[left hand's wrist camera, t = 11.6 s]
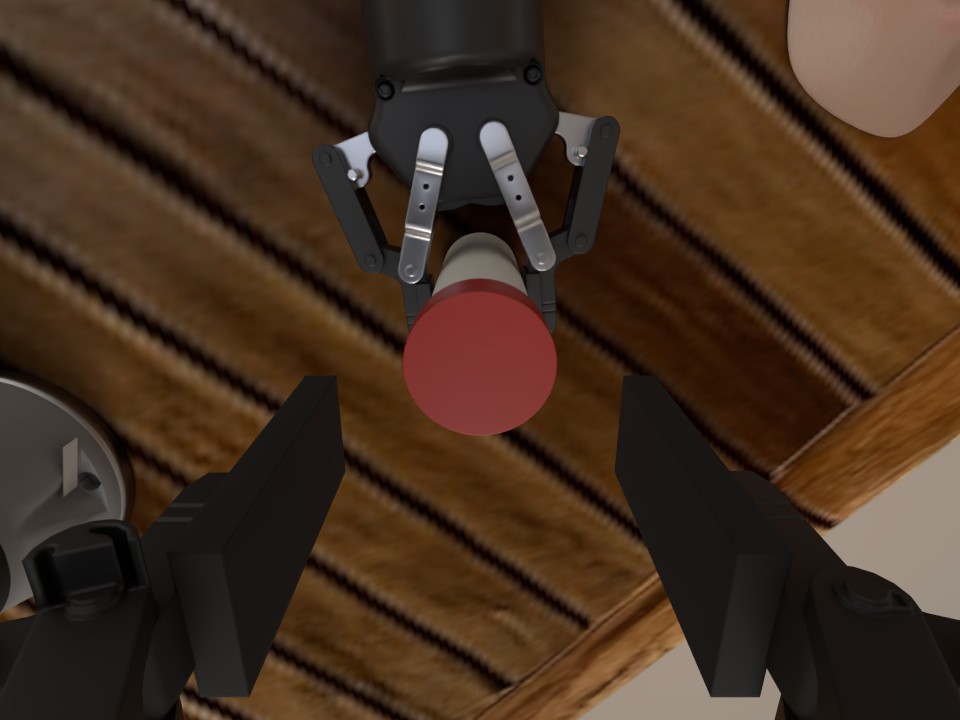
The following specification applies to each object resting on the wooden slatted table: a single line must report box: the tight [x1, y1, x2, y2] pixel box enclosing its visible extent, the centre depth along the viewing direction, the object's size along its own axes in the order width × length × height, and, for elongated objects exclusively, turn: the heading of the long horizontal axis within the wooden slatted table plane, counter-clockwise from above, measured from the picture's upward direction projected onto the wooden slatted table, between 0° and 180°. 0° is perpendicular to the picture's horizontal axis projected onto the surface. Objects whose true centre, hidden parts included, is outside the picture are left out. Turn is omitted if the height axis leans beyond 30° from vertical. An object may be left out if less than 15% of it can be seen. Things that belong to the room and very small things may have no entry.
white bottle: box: [432, 233, 528, 296], centre depth 26 cm, size 4×4×16 cm
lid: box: [403, 278, 557, 435], centre depth 19 cm, size 5×5×2 cm
